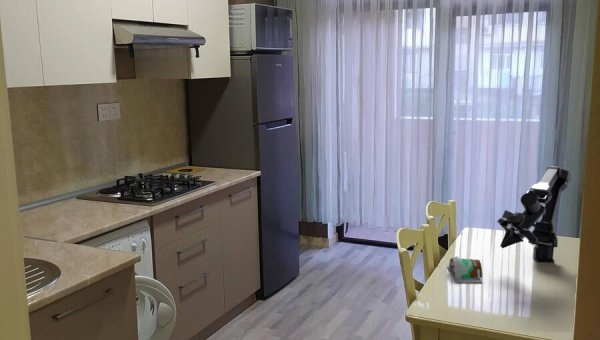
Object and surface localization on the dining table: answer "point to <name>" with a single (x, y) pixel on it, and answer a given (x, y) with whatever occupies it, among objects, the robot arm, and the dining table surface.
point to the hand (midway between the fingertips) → (501, 247)
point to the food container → (466, 268)
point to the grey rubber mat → (464, 280)
